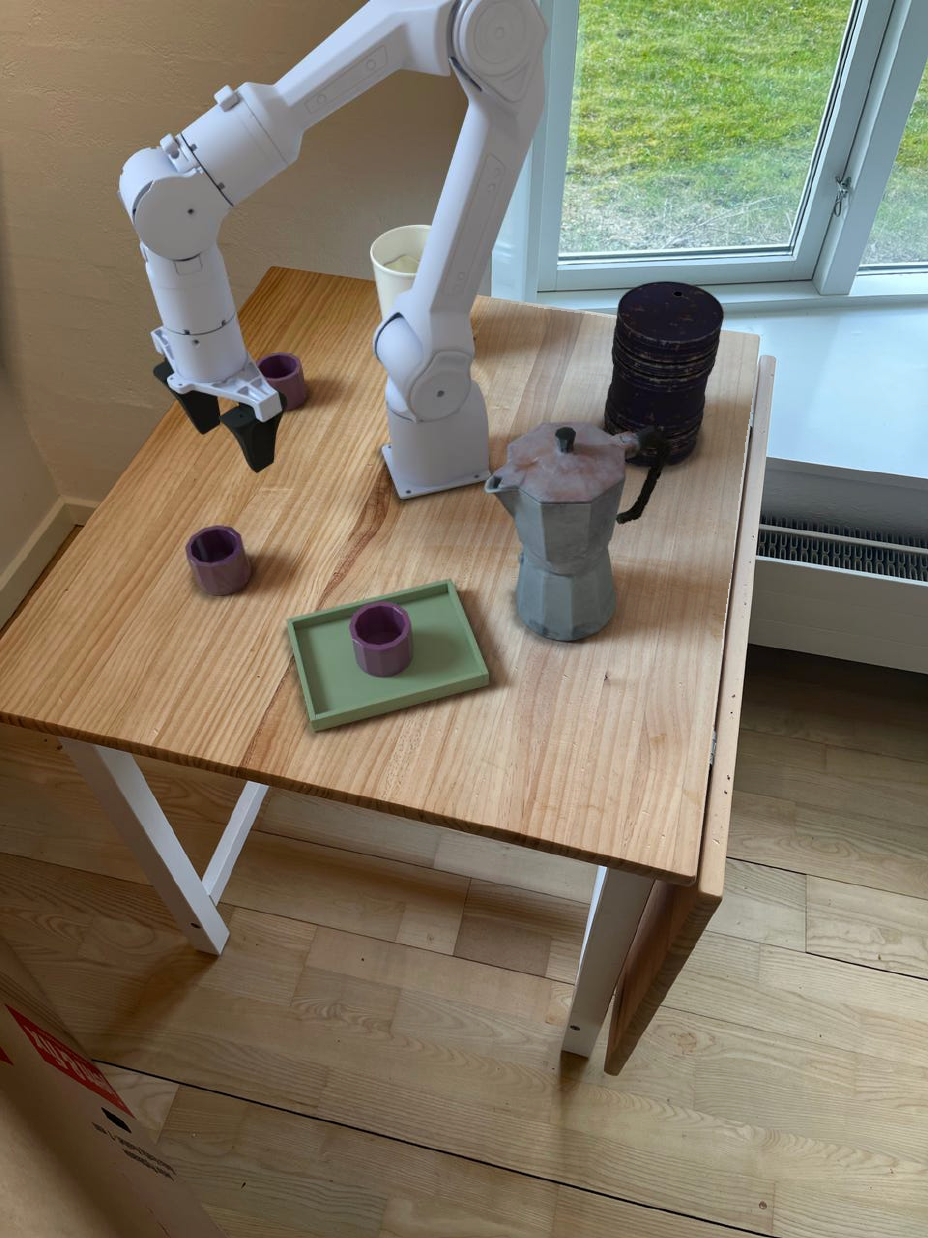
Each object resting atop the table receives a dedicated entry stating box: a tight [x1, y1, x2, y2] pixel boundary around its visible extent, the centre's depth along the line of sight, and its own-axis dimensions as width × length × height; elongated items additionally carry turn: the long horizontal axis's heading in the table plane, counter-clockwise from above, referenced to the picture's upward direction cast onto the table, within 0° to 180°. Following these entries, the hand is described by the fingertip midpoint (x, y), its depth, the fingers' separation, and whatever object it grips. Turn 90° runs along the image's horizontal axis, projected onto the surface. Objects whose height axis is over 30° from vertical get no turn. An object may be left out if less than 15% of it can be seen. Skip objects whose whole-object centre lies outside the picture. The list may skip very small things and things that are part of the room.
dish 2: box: [349, 601, 414, 677], centre depth 80 cm, size 5×5×4 cm
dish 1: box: [184, 524, 252, 596], centre depth 86 cm, size 5×5×4 cm
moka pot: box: [483, 421, 673, 642], centre depth 77 cm, size 10×15×20 cm, turn 113°
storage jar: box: [602, 280, 725, 469], centre depth 93 cm, size 10×10×15 cm
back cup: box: [255, 351, 308, 412], centre depth 102 cm, size 5×5×4 cm
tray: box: [285, 577, 490, 733], centre depth 81 cm, size 15×11×2 cm
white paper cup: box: [369, 224, 432, 322], centre depth 105 cm, size 10×10×12 cm
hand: (235, 446), depth 85 cm, fingers open, 7 cm apart
